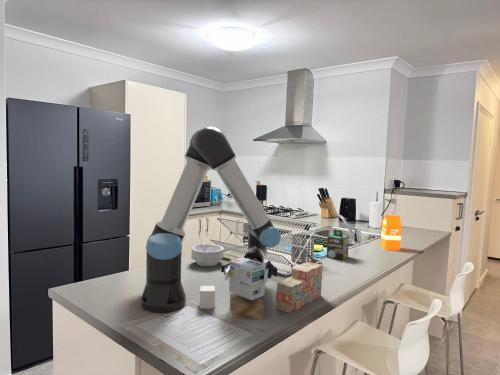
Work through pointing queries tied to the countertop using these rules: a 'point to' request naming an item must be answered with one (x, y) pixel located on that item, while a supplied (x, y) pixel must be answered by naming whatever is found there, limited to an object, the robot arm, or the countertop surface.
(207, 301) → the off-white block
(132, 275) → the countertop surface
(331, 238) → the chalk box
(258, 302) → the walnut block
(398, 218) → the orange juice
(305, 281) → the stack of blocks
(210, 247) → the paper bowls
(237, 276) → the light bulb box
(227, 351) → the countertop surface
